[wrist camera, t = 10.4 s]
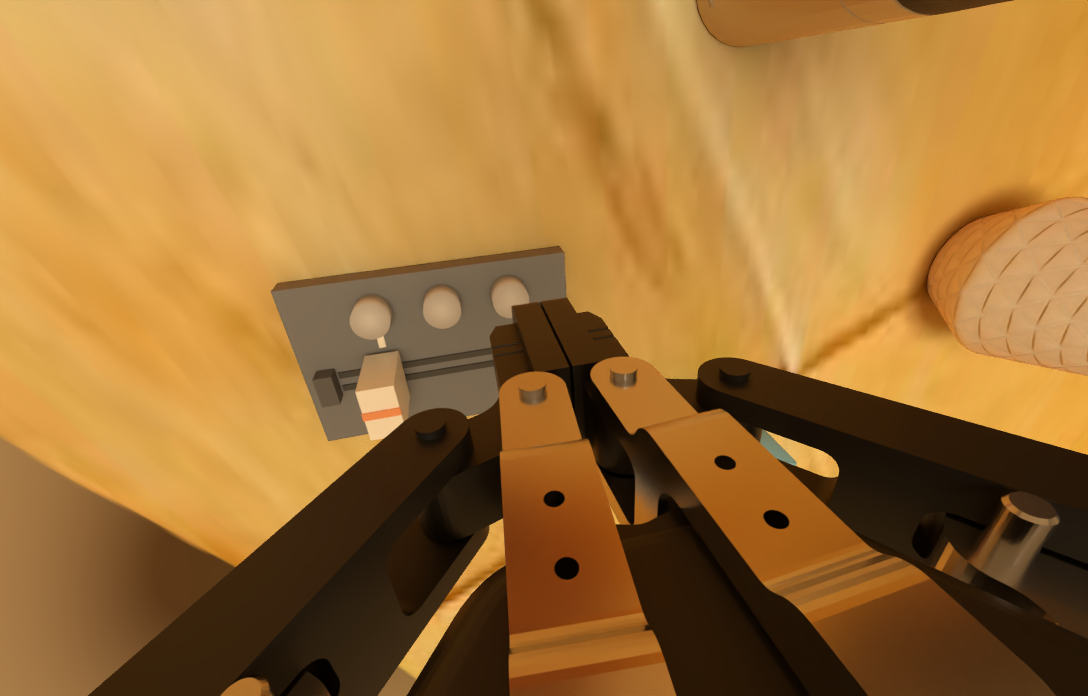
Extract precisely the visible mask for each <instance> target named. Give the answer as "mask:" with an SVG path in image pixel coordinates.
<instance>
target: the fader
mask: <svg viewBox="0 0 1088 696" xmlns="http://www.w3.org/2000/svg"><path fill="white" fill-rule="evenodd" d="M355 393H356V396H357V400H358V403H359V406H360V409H361V412H362V414H361V416H362V419H363V422H365V424H366V427H367V430H368V433H369V436H370V439H371V440H377V439H382V438H385V437H386V436H388V435H389V434H390V433H391V432H392V431H393V430H395V429H396V428H397V427H398V426H399V425H400V424H401V423H403V422H404V421H405V420H406V419H408V414H409V402H410V393H409V389H408V386H407V382H406V378H405V374H404V370H403V366H402V362H401V358H400V354H399V351H394V352H387V353H381V354H374V355H368V356H365V357H364V361H363V365H362V368H361V372H360V376H359V379H358V383H357V387H356V391H355Z"/></svg>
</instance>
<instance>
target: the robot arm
mask: <svg viewBox="0 0 1088 696" xmlns="http://www.w3.org/2000/svg"><path fill="white" fill-rule="evenodd" d="M1007 1H1012V0H697V4H698V10H699V12H700V15H701V18H702V20H703V22H704V24H705V26H706V27H707V29H708V30H709V32H710V33H711V34H712V35H713V36H714V37H715V38H716V39H718V40H719V41H721V42H723V43H725V44H727V45H731V46H736V47H740V46H750V45H756V44H762V43H768V42H776V41H782V40H788V39H794V38H800V37H806V36H812V35H818V34H824V33H830V32H836V31H842V30H848V29H854V28H860V27H866V26H872V25H878V24H884V23H889V22H894V21H900V20H906V19H912V18H918V17H924V16H931V15H938V14H944V13H949V12H955V11H960V10H965V9H971V8H976V7H981V6H986V5H991V4H996V3H1001V2H1007ZM511 309H512V319H513V324H508V325H501V326H495V328H494V330H493V331H492V333H491V335H490V336H489V337H490V344H491V350H492V356H493V363H494V369H495V375H496V382H497V387H498V392H499V398H498V400H497V401H496V403H495V404H494V405H493V406H492V407H491V408H489V409H488V410H486V411H485V412H483V413H481V414H479V415H477V416H475V417H472V418H470V419H467V418H466V416H465V415H464V414H463V413H461V412H460V411H457V410H455V409H450V408H435V409H429V410H425V411H422V412H419V413H417V414H415V415H413V416H411V417H409V418H408V419H406V420H405V421H404V422H403V423H401V424H400V425H399V426H398V427H397V428H396V429H395V430H393V431H392V432H391V433H390V434H389V435H388V436H386V437H385V438H384V439H383V440H382V441H381V442H380V443H378V444H377V445H376V446H375V447H374V448H373V449H371V450H370V451H369V452H368V453H367V454H366V455H365V456H363V457H362V458H361V459H360V460H359V461H358V462H357V463H355V464H354V465H353V466H352V467H351V468H350V469H348V470H347V471H346V472H345V473H344V474H343V475H342V476H340V477H339V478H338V479H337V480H336V481H335V482H333V483H332V484H331V485H330V486H329V487H328V488H327V489H325V490H324V491H323V492H322V493H321V494H320V495H319V496H317V497H316V498H315V499H314V500H313V501H312V502H310V503H309V504H308V505H307V506H306V507H305V508H304V509H302V510H301V511H300V512H299V513H298V514H297V515H295V516H294V517H293V518H292V519H291V520H290V521H289V522H287V523H286V524H285V525H284V526H283V527H282V528H280V529H279V530H278V531H277V532H276V533H275V534H274V535H272V536H271V537H270V538H269V539H268V540H267V541H266V542H264V543H263V544H262V545H261V546H260V547H259V548H257V549H256V550H255V551H254V552H253V553H252V554H251V555H249V556H248V557H247V558H246V559H245V560H244V561H242V562H241V563H240V564H239V565H238V566H237V567H236V568H234V569H233V570H232V571H231V572H230V573H229V574H228V575H226V576H225V577H224V578H223V579H222V580H221V581H220V582H218V583H217V584H216V585H215V586H214V587H213V588H212V589H210V590H209V591H208V592H207V593H206V594H205V595H203V596H202V597H201V598H200V599H199V600H198V601H197V602H195V603H194V604H193V605H192V606H191V607H189V608H188V609H187V610H186V611H185V612H184V613H183V614H182V615H180V616H179V617H178V618H177V619H176V620H175V621H173V622H172V623H171V624H170V625H169V626H168V627H167V628H165V629H164V630H163V631H162V632H161V633H160V634H158V636H156V637H155V638H154V639H153V640H151V641H150V642H149V643H148V644H147V645H146V646H145V647H143V648H142V649H141V650H140V651H139V652H138V653H137V654H135V655H134V656H133V657H132V658H131V659H130V660H128V661H127V663H125V664H124V665H123V666H122V667H120V668H119V669H118V670H117V671H116V672H115V673H113V674H112V675H111V676H110V677H109V678H108V679H107V680H105V681H104V682H103V683H102V684H101V685H100V686H99V687H97V688H96V689H95V690H94V691H93V692H92V693H90V694H89V695H88V696H378V694H379V692H380V691H381V690H382V688H383V687H384V685H385V684H386V683H387V681H388V680H389V678H390V677H391V675H392V674H393V672H394V671H395V670H396V668H397V667H398V665H399V664H400V662H401V661H402V660H403V658H404V657H405V655H406V654H407V652H408V651H409V650H410V648H411V647H412V645H413V644H414V642H415V641H416V639H417V638H418V637H419V635H420V634H421V632H422V631H423V629H424V628H425V627H426V625H427V624H428V622H429V621H430V619H431V618H432V616H433V615H434V614H435V612H436V611H437V609H438V608H439V606H440V605H441V604H442V602H443V601H444V599H445V598H446V596H447V595H448V593H449V592H450V591H451V589H452V588H453V586H454V585H455V583H456V582H457V581H458V579H459V578H460V576H461V575H462V573H463V572H464V570H465V569H466V568H467V566H468V565H469V563H470V562H471V560H472V559H473V558H474V556H475V555H476V553H477V552H478V550H479V549H480V547H481V546H482V545H483V543H484V542H485V540H486V538H487V536H488V533H489V525H491V524H493V523H495V522H496V521H498V520H500V519H502V518H503V524H504V542H505V561H506V565H505V566H504V567H502V568H501V569H499V570H497V571H496V572H495V573H494V574H492V575H491V576H490V577H489V578H487V579H486V580H485V581H484V582H483V583H482V584H481V585H480V586H479V587H478V588H477V589H476V590H475V591H474V592H473V593H472V594H471V596H470V597H469V598H468V599H467V601H466V602H465V603H464V604H463V606H462V607H461V608H460V610H459V611H458V613H457V614H456V616H455V617H454V619H453V621H452V622H451V624H450V626H449V627H448V629H447V630H446V632H445V634H444V635H443V637H442V639H441V640H440V642H439V644H438V645H437V647H436V648H435V650H434V652H433V653H432V655H431V657H430V658H429V660H428V662H427V663H426V665H425V666H424V668H423V670H422V671H421V673H420V675H419V676H418V678H417V680H416V681H415V683H414V684H413V686H412V688H411V689H410V691H409V693H408V695H407V696H1088V455H1086V454H1082V453H1079V452H1075V451H1072V450H1068V449H1064V448H1061V447H1057V446H1054V445H1050V444H1046V443H1043V442H1039V441H1036V440H1032V439H1028V438H1025V437H1021V436H1018V435H1014V434H1010V433H1007V432H1003V431H1000V430H996V429H992V428H989V427H985V426H982V425H978V424H975V423H971V422H967V421H964V420H960V419H957V418H953V417H949V416H946V415H942V414H939V413H935V412H931V411H928V410H924V409H921V408H917V407H913V406H910V405H906V404H903V403H899V402H895V401H892V400H888V399H885V398H881V397H877V396H874V395H870V394H867V393H863V392H859V391H856V390H852V389H849V388H845V387H841V386H838V385H834V384H831V383H827V382H823V381H820V380H816V379H813V378H809V377H805V376H802V375H798V374H795V373H791V372H787V371H784V370H780V369H777V368H773V367H769V366H766V365H762V364H759V363H755V362H751V361H748V360H744V359H739V358H716V359H712V360H709V361H707V362H705V363H703V364H702V365H701V366H700V367H699V370H698V377H697V379H666V378H664V377H663V376H662V375H661V374H660V373H659V372H658V371H657V370H656V369H655V368H654V367H653V366H652V365H651V364H650V363H648V362H646V361H644V360H641V359H638V358H633V357H629V356H628V354H627V353H626V351H625V350H624V349H623V347H622V346H621V345H620V343H619V342H618V340H617V339H616V338H615V337H614V336H613V334H612V332H611V331H610V329H608V327H607V325H606V324H605V323H604V321H603V320H602V318H600V317H598V316H596V315H594V314H592V313H590V312H582V313H576V311H575V310H574V308H573V307H572V305H571V303H570V302H569V300H568V299H567V298H566V297H565V298H559V299H552V300H546V301H540V303H539V302H533V303H527V304H521V305H514V306H512V307H511ZM762 430H766V431H768V432H771V433H774V434H777V435H780V436H782V437H785V438H788V439H791V440H794V441H796V442H799V443H802V444H805V445H807V446H810V447H813V448H816V449H819V450H821V451H824V452H825V453H827V454H829V455H830V456H831V457H832V458H833V459H834V460H835V461H836V463H837V464H838V467H839V475H838V477H834V478H828V477H823V476H820V475H818V474H815V473H812V472H810V471H807V470H805V469H802V468H800V467H797V466H794V465H792V464H789V463H787V462H784V461H781V460H779V459H776V458H775V457H774V456H773V455H772V454H771V453H770V452H769V451H768V450H767V449H766V448H765V447H764V446H763V445H761V444H760V441H761V435H762ZM609 504H610V505H609ZM610 506H611V508H612V510H613V512H614V514H615V516H616V518H617V519H618V521H619V523H620V524H615V521H614V518H613V515H612V512H611V508H610Z"/></svg>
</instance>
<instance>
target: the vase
mask: <svg viewBox="0 0 1088 696" xmlns="http://www.w3.org/2000/svg"><path fill="white" fill-rule="evenodd" d="M927 290H928V294H929V296H930V298H931V300H932V301H933V303H934V304H935V306H936V307H937V309H938V311H939V312H940V314H941V315H942V317H943V319H944V320H945V322H946V323H947V325H948V326H949V328H950V330H951V331H952V333H953V334H954V336H955V338H956V339H957V340H958V342H959V343H960V344H961V345H963V346H964V347H965V348H966V349H968V350H970V351H972V352H974V353H977V354H981V355H986V356H991V357H996V358H1000V359H1005V360H1010V361H1015V362H1020V363H1025V364H1030V365H1035V366H1040V367H1045V368H1050V369H1055V370H1059V371H1064V372H1069V373H1074V374H1079V375H1084V376H1088V198H1084V197H1065V198H1059V199H1054V200H1050V201H1046V202H1042V203H1038V204H1034V205H1030V206H1026V207H1022V208H1018V209H1014V210H1010V211H1006V212H1002V213H998V214H994V215H990V216H986V217H983V218H979V219H977V220H975V221H972V222H971V223H969V224H967V225H965V226H964V227H962V228H961V229H960V230H959V231H957V232H956V233H955V234H954V235H953V236H952V237H951V238H950V239H949V240H948V241H947V242H946V243H945V244H944V245H943V247H942V248H941V249H940V251H939V252H938V254H937V255H936V257H935V259H934V261H933V263H932V265H931V268H930V271H929V274H928V279H927Z"/></svg>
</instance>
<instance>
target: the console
mask: <svg viewBox="0 0 1088 696" xmlns="http://www.w3.org/2000/svg"><path fill="white" fill-rule="evenodd" d="M271 293H272V296H273V299H274V301H275V304H276V306H277V309H278V312H279V314H280V317H281V319H282V322H283V325H284V327H285V330H286V332H287V335H288V338H289V340H290V343H291V345H292V348H293V351H294V353H295V356H296V358H297V361H298V364H299V366H300V369H301V371H302V374H303V377H304V379H305V382H306V384H307V387H308V390H309V392H310V395H311V397H312V400H313V403H314V405H315V408H316V410H317V413H318V416H319V418H320V421H321V423H322V426H323V429H324V431H325V434H326V436H327V439H328V441H332V440H337V439H343V438H348V437H354V436H359V435H365V434H369V433H368V430H367V427H366V424H365V422H363V419H362V416H361V414H362V412H361V409H360V406H359V403H358V400H357V396H356V393H355V391H356V387H357V383H358V379H359V376H360V372H361V368H362V365H363V361H364V357H365V356H368V355H374V354H381V353H387V352H394V351H399V354H400V358H401V362H402V366H403V370H404V374H405V378H406V382H407V386H408V389H409V393H410V402H409V414H408V418H409V417H411V416H413V415H415V414H417V413H419V412H422V411H425V410H429V409H435V408H450V409H455V410H457V411H460V412H461V413H463V414H464V415H465V416H470V415H475V414H481V413H483V412H485V411H486V410H488V409H489V408H491V407H492V406H493V405H494V404H495V403H496V401H497V400H498V398H499V392H498V387H497V382H496V375H495V369H494V363H493V356H492V350H491V344H490V337H489V336H490V335H491V333H492V331H493V330H494V328H495V326H501V325H508V324H513V319H512V309H511V307H512V306H514V305H521V304H527V303H533V302H539V303H540V301H546V300H552V299H559V298H565V297H566V280H565V260H564V252H563V250H562V249H561V248H560V247H559V246H557V247H549V248H542V249H534V250H526V251H519V252H511V253H504V254H496V255H488V256H481V257H473V258H466V259H458V260H451V261H443V262H435V263H428V264H420V265H413V266H405V267H397V268H390V269H382V270H375V271H367V272H360V273H352V274H344V275H337V276H329V277H322V278H314V279H306V280H299V281H291V282H284V283H278V284H277V285H276V286H275V287H274V288H273V290H272V291H271Z"/></svg>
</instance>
